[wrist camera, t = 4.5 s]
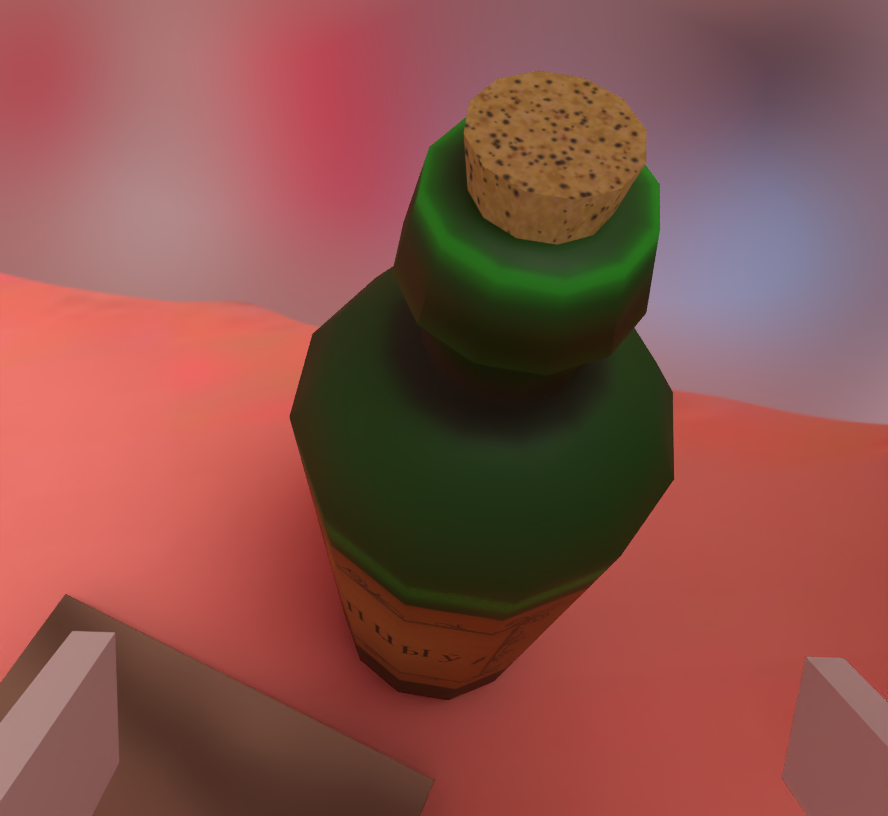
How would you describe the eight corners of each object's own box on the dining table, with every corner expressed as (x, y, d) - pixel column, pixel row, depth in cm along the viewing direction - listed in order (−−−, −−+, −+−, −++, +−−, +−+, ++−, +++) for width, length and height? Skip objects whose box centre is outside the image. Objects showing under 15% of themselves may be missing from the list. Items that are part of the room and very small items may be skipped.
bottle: (279, 582, 38) (128, 62, 14) (456, 467, 42) (577, -93, 18) (410, 780, 34) (519, 531, 10) (592, 633, 38) (983, 200, 14)
